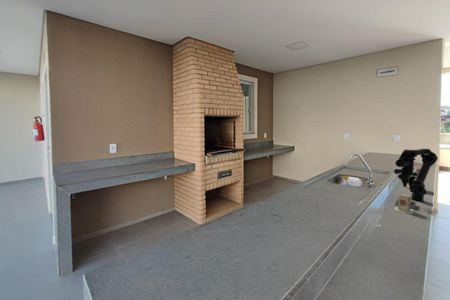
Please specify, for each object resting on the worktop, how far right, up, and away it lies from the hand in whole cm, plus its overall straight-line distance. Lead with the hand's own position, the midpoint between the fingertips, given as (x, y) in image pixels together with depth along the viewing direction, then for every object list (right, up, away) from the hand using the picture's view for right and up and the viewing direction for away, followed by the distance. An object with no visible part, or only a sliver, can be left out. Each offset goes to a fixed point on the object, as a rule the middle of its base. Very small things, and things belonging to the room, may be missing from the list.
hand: (407, 186), depth 168 cm
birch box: (-15, -14, -15) cm, 25 cm away
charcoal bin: (-6, -14, -6) cm, 16 cm away
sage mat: (-15, -15, -15) cm, 25 cm away
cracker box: (+35, -9, +35) cm, 50 cm away
